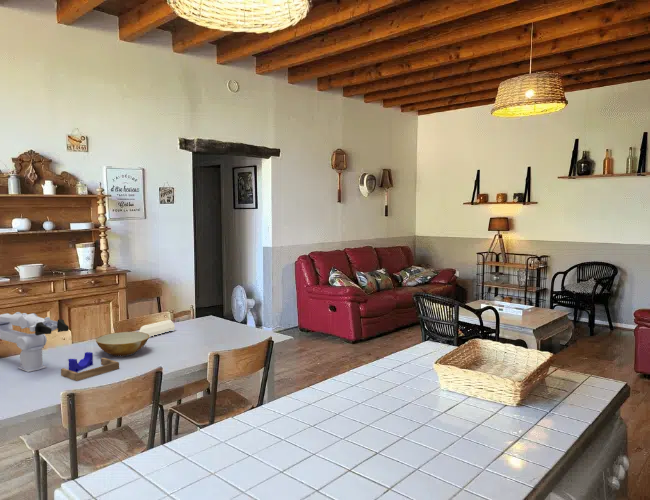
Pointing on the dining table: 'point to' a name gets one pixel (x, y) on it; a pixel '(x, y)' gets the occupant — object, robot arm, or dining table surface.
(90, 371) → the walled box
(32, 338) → the robot arm
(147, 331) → the crystal
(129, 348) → the bowl
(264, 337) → the dining table surface
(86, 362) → the blue cradle block
